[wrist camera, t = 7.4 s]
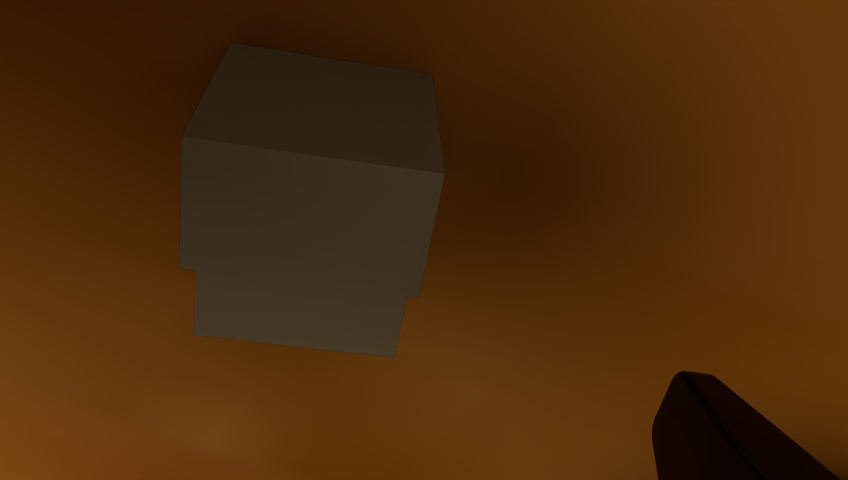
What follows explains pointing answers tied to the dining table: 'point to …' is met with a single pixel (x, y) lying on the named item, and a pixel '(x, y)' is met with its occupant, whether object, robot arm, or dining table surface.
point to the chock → (309, 199)
